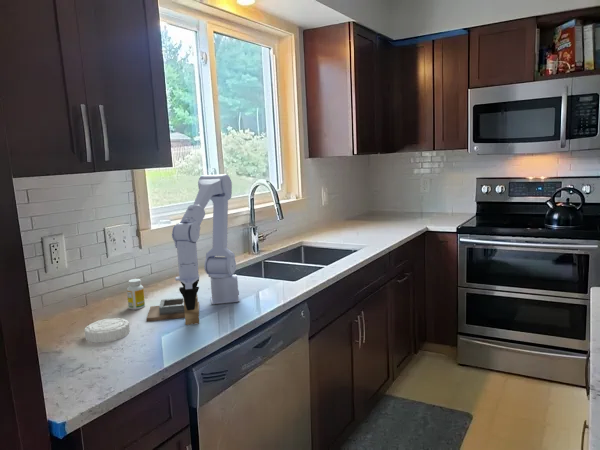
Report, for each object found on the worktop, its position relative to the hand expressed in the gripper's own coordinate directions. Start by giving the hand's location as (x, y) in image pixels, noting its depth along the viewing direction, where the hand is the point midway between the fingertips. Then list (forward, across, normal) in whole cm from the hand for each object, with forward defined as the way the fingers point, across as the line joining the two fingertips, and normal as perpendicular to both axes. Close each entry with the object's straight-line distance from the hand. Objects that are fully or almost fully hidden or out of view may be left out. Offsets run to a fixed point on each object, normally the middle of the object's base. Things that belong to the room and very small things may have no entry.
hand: (191, 305), depth 142 cm
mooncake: (+6, +3, -24) cm, 25 cm away
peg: (+5, 0, 0) cm, 5 cm away
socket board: (+5, -11, -6) cm, 14 cm away
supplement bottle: (+5, -21, -19) cm, 29 cm away
